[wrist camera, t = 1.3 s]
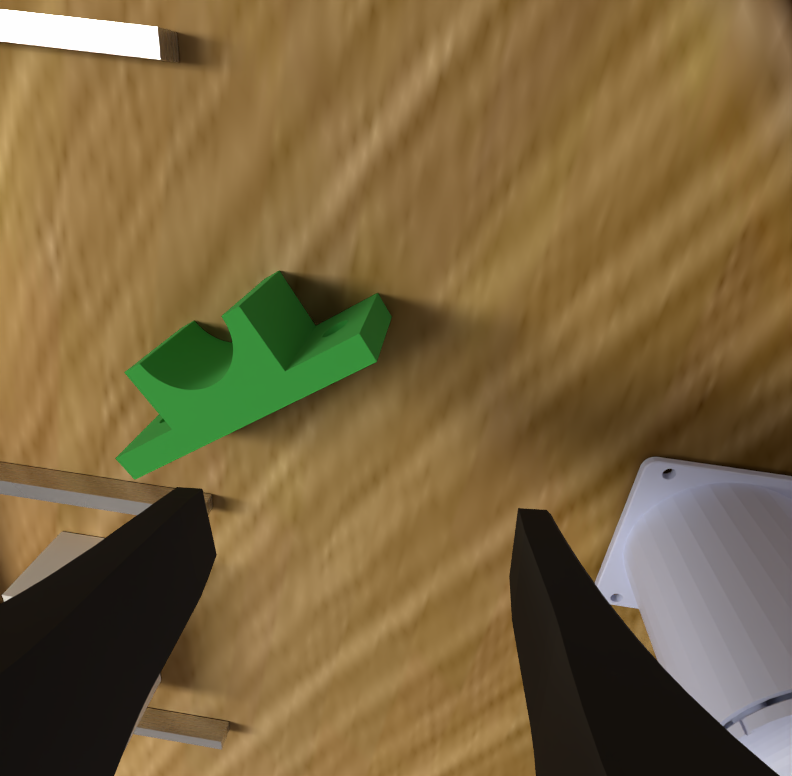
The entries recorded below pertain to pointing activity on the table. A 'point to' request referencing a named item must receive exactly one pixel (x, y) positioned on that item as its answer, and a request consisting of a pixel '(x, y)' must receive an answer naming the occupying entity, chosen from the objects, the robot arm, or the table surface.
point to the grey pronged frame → (76, 486)
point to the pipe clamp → (246, 369)
